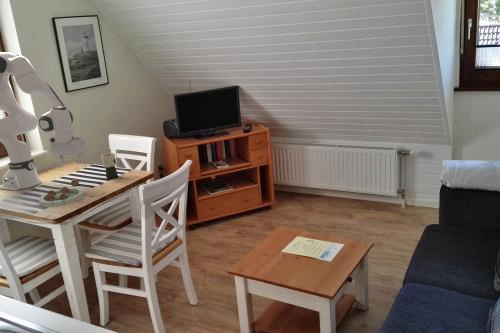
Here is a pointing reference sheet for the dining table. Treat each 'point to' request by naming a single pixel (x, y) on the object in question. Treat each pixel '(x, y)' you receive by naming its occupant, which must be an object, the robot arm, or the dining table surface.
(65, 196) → the seated bead
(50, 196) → the seated bead
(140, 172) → the dining table surface
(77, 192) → the groove tray
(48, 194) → the seated bead
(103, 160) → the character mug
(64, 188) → the bead
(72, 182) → the bead
